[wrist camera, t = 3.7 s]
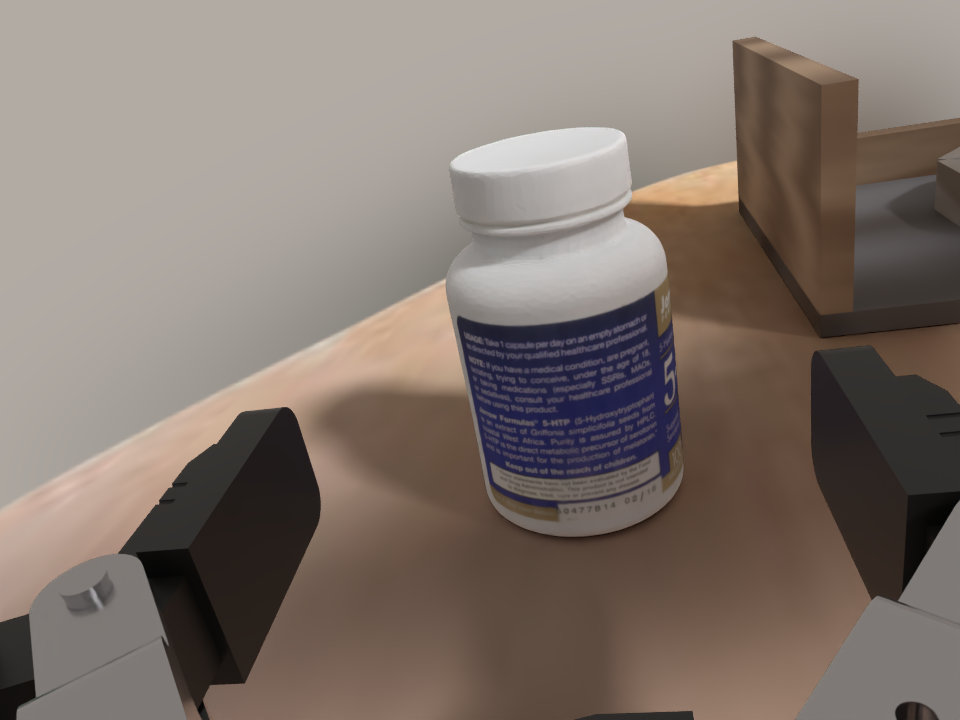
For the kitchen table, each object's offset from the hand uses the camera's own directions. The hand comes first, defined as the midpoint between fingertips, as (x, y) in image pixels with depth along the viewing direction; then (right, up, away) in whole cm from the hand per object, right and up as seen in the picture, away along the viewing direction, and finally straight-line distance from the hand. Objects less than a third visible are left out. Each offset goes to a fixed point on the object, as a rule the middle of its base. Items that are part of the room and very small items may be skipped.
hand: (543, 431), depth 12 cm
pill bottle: (+2, -2, +9) cm, 10 cm away
